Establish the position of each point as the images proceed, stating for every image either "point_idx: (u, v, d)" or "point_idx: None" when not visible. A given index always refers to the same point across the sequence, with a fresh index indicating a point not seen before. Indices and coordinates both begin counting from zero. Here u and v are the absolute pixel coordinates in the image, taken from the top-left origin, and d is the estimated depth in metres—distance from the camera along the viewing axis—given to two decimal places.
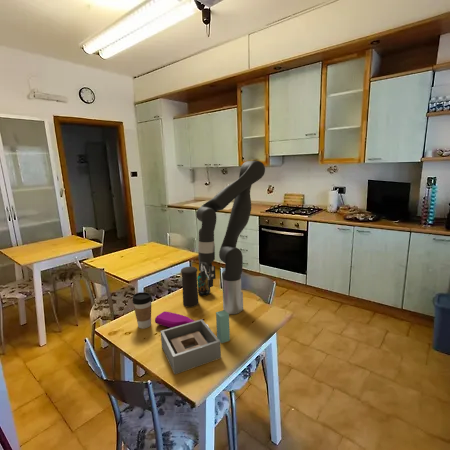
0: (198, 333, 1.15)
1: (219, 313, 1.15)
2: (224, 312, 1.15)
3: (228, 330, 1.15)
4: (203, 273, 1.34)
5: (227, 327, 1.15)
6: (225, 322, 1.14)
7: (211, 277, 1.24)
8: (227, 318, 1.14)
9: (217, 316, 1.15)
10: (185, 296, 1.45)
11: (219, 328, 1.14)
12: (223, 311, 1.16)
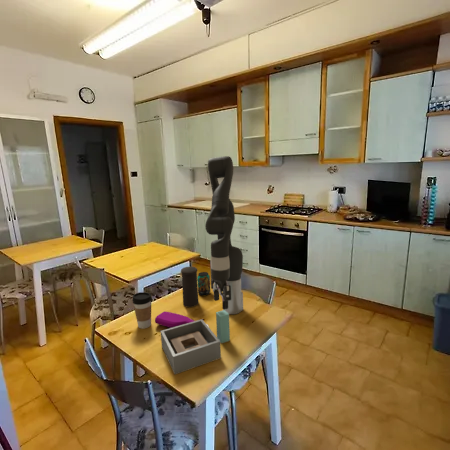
0: (198, 333, 1.15)
1: (219, 313, 1.15)
2: (224, 312, 1.15)
3: (228, 330, 1.15)
4: (216, 292, 1.17)
5: (227, 327, 1.15)
6: (225, 322, 1.14)
7: (226, 298, 1.06)
8: (227, 318, 1.14)
9: (217, 316, 1.15)
10: (185, 296, 1.45)
11: (219, 328, 1.14)
12: (223, 311, 1.16)
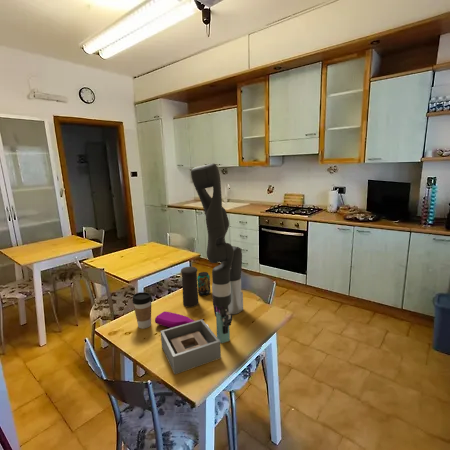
0: (198, 333, 1.15)
1: (219, 313, 1.14)
2: None
3: (228, 330, 1.15)
4: None
5: None
6: None
7: None
8: None
9: (217, 316, 1.15)
10: (185, 296, 1.45)
11: (219, 328, 1.14)
12: None
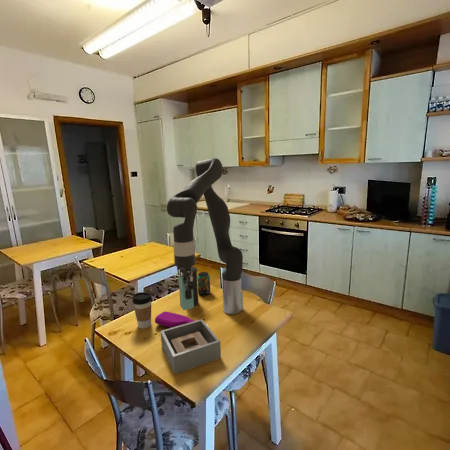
0: (198, 333, 1.15)
1: None
2: None
3: (192, 296, 1.04)
4: None
5: None
6: None
7: (188, 287, 0.99)
8: None
9: (179, 280, 1.03)
10: None
11: (181, 293, 1.03)
12: None
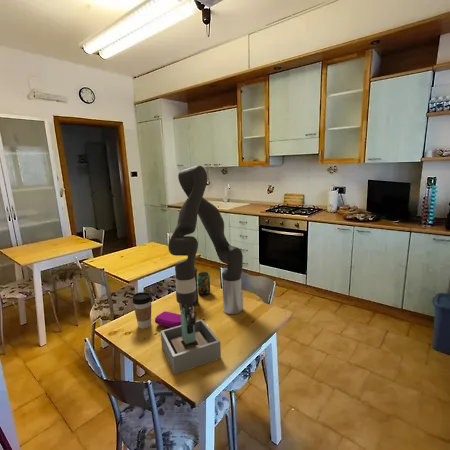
0: (198, 333, 1.15)
1: None
2: None
3: (193, 330, 1.07)
4: None
5: None
6: None
7: (190, 323, 1.02)
8: None
9: (181, 314, 1.06)
10: None
11: (183, 327, 1.06)
12: None
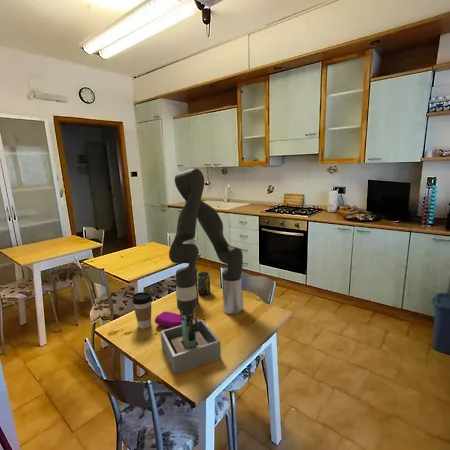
0: (198, 333, 1.15)
1: (184, 322, 1.07)
2: None
3: (194, 340, 1.07)
4: None
5: None
6: None
7: (191, 331, 1.02)
8: None
9: (182, 325, 1.07)
10: None
11: (184, 338, 1.07)
12: None
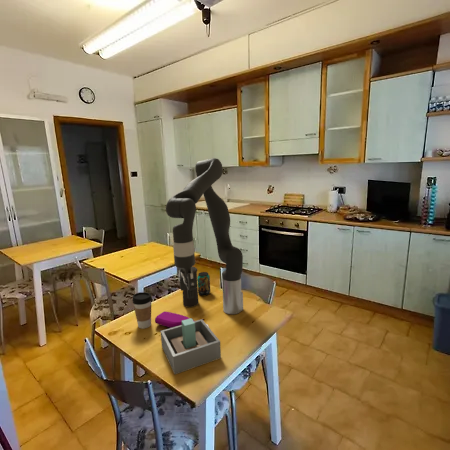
0: (198, 333, 1.15)
1: (184, 322, 1.07)
2: (190, 321, 1.07)
3: (194, 340, 1.07)
4: (182, 281, 1.08)
5: (193, 337, 1.07)
6: (191, 331, 1.06)
7: (190, 287, 0.98)
8: (193, 327, 1.06)
9: (182, 325, 1.07)
10: (185, 296, 1.45)
11: (184, 338, 1.07)
12: (189, 319, 1.08)
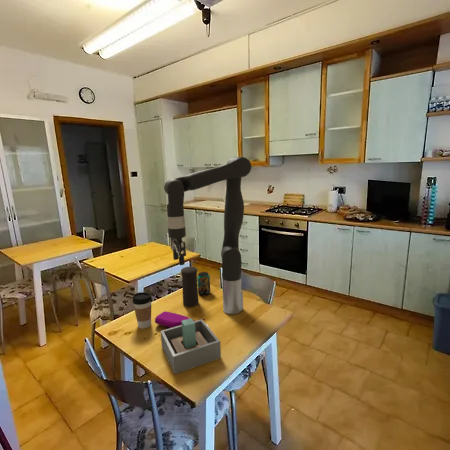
0: (198, 333, 1.15)
1: (184, 322, 1.07)
2: (190, 321, 1.07)
3: (194, 340, 1.07)
4: (175, 251, 1.27)
5: (193, 337, 1.07)
6: (191, 331, 1.06)
7: (181, 254, 1.16)
8: (193, 327, 1.06)
9: (182, 325, 1.07)
10: (185, 296, 1.45)
11: (184, 338, 1.07)
12: (189, 319, 1.08)
